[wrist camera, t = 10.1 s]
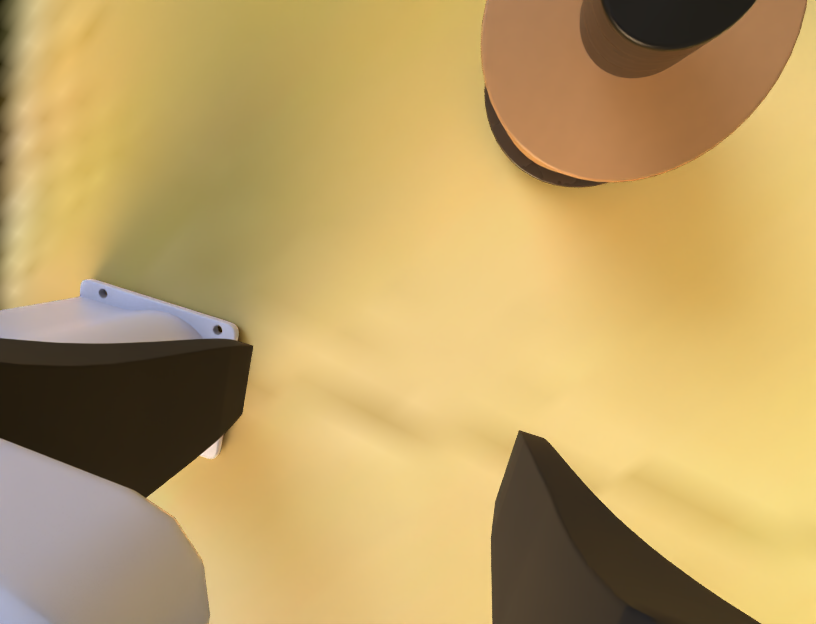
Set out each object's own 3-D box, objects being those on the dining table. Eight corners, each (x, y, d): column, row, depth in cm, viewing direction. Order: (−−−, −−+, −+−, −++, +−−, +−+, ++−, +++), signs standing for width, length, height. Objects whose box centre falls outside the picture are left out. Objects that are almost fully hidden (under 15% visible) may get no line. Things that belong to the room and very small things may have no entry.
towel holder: (517, -48, 17) (504, -449, 6) (734, -15, 15) (1245, -439, 4) (465, 163, 19) (389, 166, 8) (646, 205, 18) (831, 272, 7)
